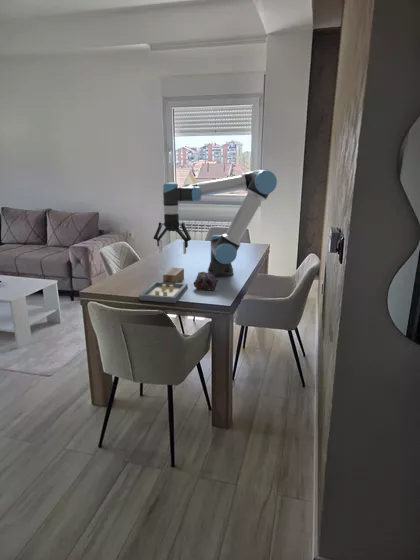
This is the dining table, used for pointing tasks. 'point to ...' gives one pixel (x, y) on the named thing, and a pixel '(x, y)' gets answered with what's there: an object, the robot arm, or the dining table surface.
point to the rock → (205, 281)
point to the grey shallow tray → (164, 292)
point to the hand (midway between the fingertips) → (172, 252)
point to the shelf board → (174, 275)
